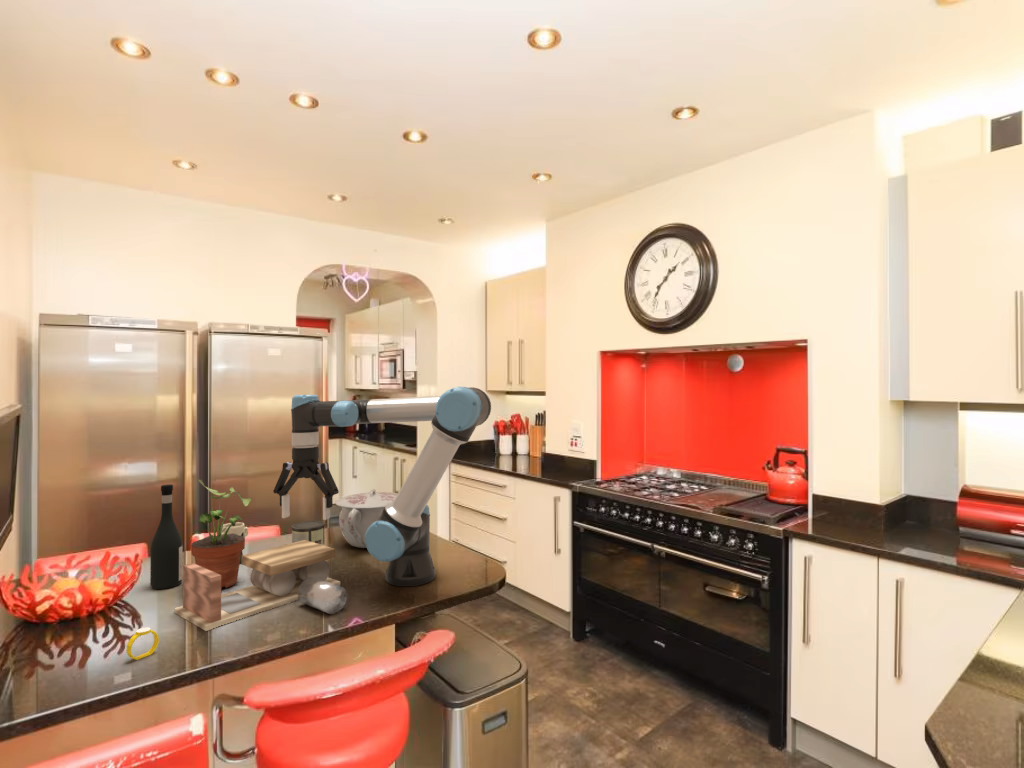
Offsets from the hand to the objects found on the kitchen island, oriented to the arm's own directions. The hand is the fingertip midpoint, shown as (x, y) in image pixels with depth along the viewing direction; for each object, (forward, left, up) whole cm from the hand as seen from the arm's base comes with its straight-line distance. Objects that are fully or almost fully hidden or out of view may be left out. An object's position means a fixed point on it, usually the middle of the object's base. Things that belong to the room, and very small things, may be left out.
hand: (306, 518), depth 160 cm
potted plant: (+22, +14, -21) cm, 33 cm away
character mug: (+40, +2, -21) cm, 45 cm away
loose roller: (-17, +6, -21) cm, 28 cm away
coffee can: (+16, -11, -21) cm, 28 cm away
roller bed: (+2, +12, -20) cm, 24 cm away
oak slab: (+2, +4, -12) cm, 13 cm away
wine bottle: (+35, +24, -21) cm, 47 cm away
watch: (-9, +45, -21) cm, 51 cm away
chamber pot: (+21, -41, -21) cm, 50 cm away
